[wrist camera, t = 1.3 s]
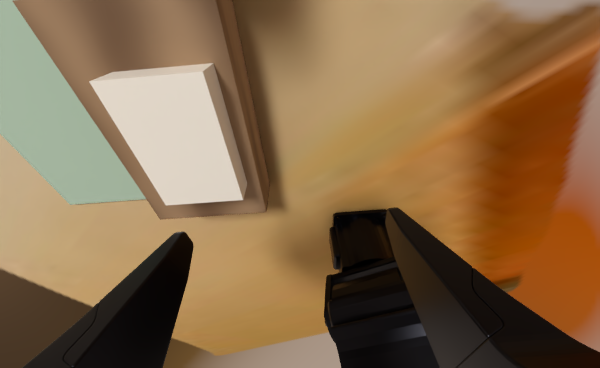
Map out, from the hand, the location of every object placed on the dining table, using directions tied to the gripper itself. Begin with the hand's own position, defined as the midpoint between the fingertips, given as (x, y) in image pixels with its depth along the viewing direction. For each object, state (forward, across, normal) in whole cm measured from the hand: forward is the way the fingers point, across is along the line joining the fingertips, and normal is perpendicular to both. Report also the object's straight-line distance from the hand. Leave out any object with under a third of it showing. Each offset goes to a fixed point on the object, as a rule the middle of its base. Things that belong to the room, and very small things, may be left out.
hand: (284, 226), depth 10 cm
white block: (+8, +7, -1) cm, 11 cm away
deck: (+12, +8, -1) cm, 14 cm away
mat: (+12, +19, -2) cm, 22 cm away
